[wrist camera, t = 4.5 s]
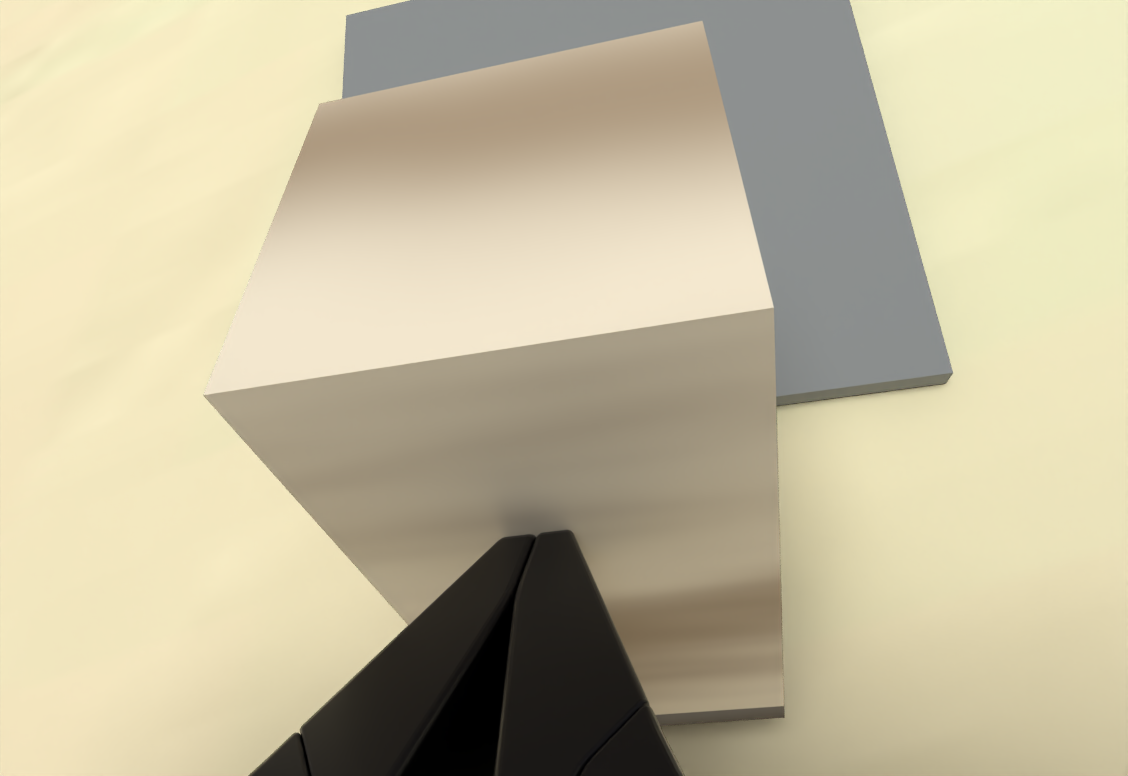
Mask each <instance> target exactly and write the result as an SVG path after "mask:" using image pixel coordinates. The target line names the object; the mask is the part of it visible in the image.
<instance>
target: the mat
mask: <svg viewBox="0 0 1128 776" xmlns="http://www.w3.org/2000/svg"><path fill="white" fill-rule="evenodd" d="M698 21H703V25H704V29H705V33H706V37H707V41H708V45H709V49H710V53H711V57H712V61H713V65H714V69H715V73H716V77H717V81H718V85H719V89H720V93H721V97H722V101H723V105H724V109H725V113H726V117H727V121H728V125H729V129H730V133H731V137H732V141H733V145H734V149H735V153H736V157H737V161H738V165H739V169H740V173H741V177H742V181H743V185H744V189H745V194H746V198H747V202H748V206H749V210H750V214H751V218H752V222H753V226H754V230H755V234H756V238H757V242H758V246H759V250H760V254H761V258H762V262H763V266H764V270H765V274H766V278H767V282H768V286H769V290H770V294H771V298H772V302H773V306H774V331H775V370H776V406H779V405H786V404H794V403H801V402H809V401H816V400H824V399H831V398H839V397H846V396H854V395H862V394H869V393H877V392H884V391H892V390H899V389H907V388H914V387H922V386H929V385H937V384H944V383H946V382H947V381H948V379H949V378H950V376H951V375H952V373H953V371H952V368H951V364H950V360H949V357H948V353H947V350H946V346H945V343H944V339H943V335H942V332H941V328H940V325H939V321H938V317H937V314H936V310H935V307H934V303H933V299H932V296H931V292H930V289H929V285H928V281H927V278H926V274H925V271H924V267H923V263H922V260H921V256H920V253H919V249H918V245H917V242H916V238H915V235H914V231H913V227H912V224H911V220H910V217H909V213H908V209H907V206H906V202H905V199H904V195H903V192H902V188H901V184H900V181H899V177H898V174H897V170H896V166H895V163H894V159H893V156H892V152H891V148H890V145H889V141H888V138H887V134H886V130H885V127H884V123H883V120H882V116H881V112H880V109H879V105H878V102H877V98H876V94H875V91H874V87H873V84H872V80H871V76H870V73H869V69H868V66H867V62H866V58H865V55H864V51H863V48H862V44H861V40H860V37H859V33H858V30H857V26H856V23H855V19H854V15H853V12H852V8H851V5H850V1H849V0H410V1H406V2H402V3H397V4H393V5H389V6H385V7H380V8H376V9H372V10H368V11H363V12H359V13H355V14H351V15H347V16H346V34H345V54H344V74H343V95H342V99H344V98H349V97H353V96H358V95H363V94H367V93H372V92H376V91H381V90H386V89H390V88H395V87H399V86H404V85H409V84H413V83H418V82H422V81H427V80H432V79H436V78H441V77H445V76H450V75H455V74H459V73H464V72H468V71H473V70H478V69H482V68H487V67H491V66H496V65H501V64H505V63H510V62H514V61H519V60H524V59H528V58H533V57H537V56H542V55H547V54H551V53H556V52H560V51H565V50H570V49H574V48H579V47H583V46H588V45H593V44H597V43H602V42H606V41H611V40H616V39H620V38H625V37H629V36H634V35H639V34H643V33H648V32H652V31H657V30H662V29H666V28H671V27H675V26H680V25H685V24H689V23H694V22H698Z"/></svg>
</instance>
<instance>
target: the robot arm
mask: <svg viewBox="0 0 1128 776" xmlns="http://www.w3.org/2000/svg"><path fill="white" fill-rule="evenodd" d="M300 733H301V735H300ZM300 733H294V734H293V735H292V736H290V737H289V738H288V739H287V740H286V741H285V742H284V743H283V744H282V745H281V746H280V747H279V748H278V749H277V750H276V751H275V752H274V753H272V754H271V755H270V756H269V757H268V758H267V759H266V760H265V761H264V762H263V763H262V764H261V765H260V766H258V767H257V768H256V769H255V770H254V771H253V772H252V773H251V774H250V775H249V776H685V775H684V774H683V772H682V770H681V768H680V766H679V764H678V762H677V760H676V758H675V756H674V754H673V752H672V750H671V748H670V746H669V744H668V742H667V740H666V738H665V736H664V734H663V732H662V729H661V727H660V725H659V723H658V720H657V718H656V716H655V713H654V711H653V709H652V708H651V707H650V704H649V701H648V699H647V697H646V694H645V692H644V690H643V688H642V685H641V683H640V681H639V679H638V676H637V674H636V672H635V670H634V667H633V665H632V663H631V661H630V658H629V656H628V654H627V652H626V649H625V647H624V645H623V643H622V641H621V638H620V636H619V634H618V632H617V629H616V627H615V625H614V623H613V620H612V618H611V616H610V614H609V611H608V609H607V607H606V605H605V602H604V600H603V598H602V596H601V593H600V591H599V589H598V587H597V584H596V582H595V580H594V578H593V576H592V573H591V571H590V569H589V567H588V564H587V562H586V560H585V558H584V555H583V553H582V551H581V549H580V546H579V544H578V542H577V540H576V537H575V535H574V533H573V532H572V531H571V530H559V531H551V532H543V533H540V534H539V535H537V537H536V536H535V535H533V534H526V535H517V536H508V537H503V538H501V539H500V540H498V541H497V542H496V543H495V544H494V545H493V546H492V547H491V548H490V549H489V550H488V551H486V552H485V553H484V554H483V555H482V556H481V557H480V558H479V559H478V560H477V561H476V562H475V563H474V564H473V565H472V566H471V567H470V568H468V569H467V570H466V571H465V572H464V573H463V574H462V575H461V576H460V577H459V578H458V579H457V580H456V581H455V582H454V583H453V584H452V585H451V586H449V587H448V588H447V589H446V590H445V591H444V592H443V593H442V594H441V595H440V596H439V597H438V598H437V599H436V600H435V601H434V602H433V603H431V604H430V605H429V606H428V607H427V608H426V609H425V610H424V611H423V612H422V613H421V614H420V615H419V616H418V617H417V618H416V619H415V620H413V621H412V622H411V623H410V624H409V625H408V626H407V627H406V628H405V629H404V630H403V631H402V632H401V633H400V634H399V635H398V636H397V637H396V638H394V639H393V640H392V641H391V642H390V643H389V644H388V645H387V646H386V647H385V648H384V649H383V650H382V651H381V652H380V653H379V654H378V655H376V656H375V657H374V658H373V659H372V660H371V661H370V662H369V663H368V664H367V665H366V666H365V667H364V668H363V669H362V670H361V671H360V672H359V673H357V674H356V675H355V676H354V677H353V678H352V679H351V680H350V681H349V682H348V683H347V684H346V685H345V686H344V687H343V688H342V689H341V690H339V691H338V692H337V693H336V694H335V695H334V696H333V697H332V698H331V699H330V700H329V701H328V702H327V703H326V704H325V705H324V706H323V707H321V708H320V709H319V710H318V711H317V712H316V713H315V714H314V715H313V716H312V717H311V718H310V719H309V720H308V721H307V722H306V723H304V724H303V725H302V726H301V728H300Z"/></svg>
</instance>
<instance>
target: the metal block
mask: <svg viewBox="0 0 1128 776" xmlns="http://www.w3.org/2000/svg"><path fill="white" fill-rule="evenodd" d="M203 396H204V397H205V398H206V399H207V400H208V401H209V402H210V403H211V405H212V406H213V407H214V408H215V409H216V410H217V411H218V412H219V414H220V415H221V416H222V417H223V418H224V419H225V420H226V421H227V423H228V424H229V425H230V426H231V427H232V428H233V429H234V430H235V432H236V433H237V434H238V435H239V436H240V437H241V438H242V439H243V440H244V442H245V443H246V444H247V445H248V446H249V447H250V448H251V449H252V451H253V452H254V453H255V454H256V455H257V456H258V457H259V458H260V460H261V461H262V462H263V463H264V464H265V465H266V466H267V467H268V468H269V470H270V471H271V472H272V473H273V474H274V475H275V476H276V477H277V479H278V480H279V481H280V482H281V483H282V484H283V485H284V486H285V488H286V489H287V490H288V491H289V492H290V493H291V494H292V495H293V497H294V498H295V499H296V500H297V501H298V502H299V503H300V504H301V505H302V507H303V508H304V509H305V510H306V511H307V512H308V513H309V514H310V516H311V517H312V518H313V519H314V520H315V521H316V522H317V523H318V525H319V526H320V527H321V528H322V529H323V530H324V531H325V532H326V533H327V535H328V536H329V537H330V538H331V539H332V540H333V541H334V542H335V544H336V545H337V546H338V547H339V548H340V549H341V550H342V551H343V553H344V554H345V555H346V556H347V557H348V558H349V559H350V560H351V562H352V563H353V564H354V565H355V566H356V567H357V568H358V569H359V570H360V572H361V573H362V574H363V575H364V576H365V577H366V578H367V579H368V581H369V582H370V583H371V584H372V585H373V586H374V587H375V588H376V590H377V591H378V592H379V593H380V594H381V595H382V596H383V597H384V598H385V600H386V601H387V602H388V603H389V604H390V605H391V606H392V607H393V609H394V610H395V611H396V612H397V613H398V614H399V615H400V616H401V618H402V619H403V620H404V621H405V622H406V623H407V624H408V625H409V624H410V623H411V622H412V621H413V620H415V619H416V618H417V617H418V616H419V615H420V614H421V613H422V612H423V611H424V610H425V609H426V608H427V607H428V606H429V605H430V604H431V603H433V602H434V601H435V600H436V599H437V598H438V597H439V596H440V595H441V594H442V593H443V592H444V591H445V590H446V589H447V588H448V587H449V586H451V585H452V584H453V583H454V582H455V581H456V580H457V579H458V578H459V577H460V576H461V575H462V574H463V573H464V572H465V571H466V570H467V569H468V568H470V567H471V566H472V565H473V564H474V563H475V562H476V561H477V560H478V559H479V558H480V557H481V556H482V555H483V554H484V553H485V552H486V551H488V550H489V549H490V548H491V547H492V546H493V545H494V544H495V543H496V542H497V541H498V540H500V539H501V538H503V537H508V536H517V535H526V534H533V535H535V536H536V537H537V535H539V534H540V533H543V532H551V531H559V530H571V531H572V532H573V533H574V535H575V537H576V540H577V542H578V544H579V546H580V549H581V551H582V553H583V555H584V558H585V560H586V562H587V564H588V567H589V569H590V571H591V573H592V576H593V578H594V580H595V582H596V584H597V587H598V589H599V591H600V593H601V596H602V598H603V600H604V602H605V605H606V607H607V609H608V611H609V614H610V616H611V618H612V620H613V623H614V625H615V627H616V629H617V632H618V634H619V636H620V638H621V641H622V643H623V645H624V647H625V649H626V652H627V654H628V656H629V658H630V661H631V663H632V665H633V667H634V670H635V672H636V674H637V676H638V679H639V681H640V683H641V685H642V688H643V690H644V692H645V694H646V697H647V699H648V701H649V704H650V707H651V708H652V709H653V711H654V713H655V716H656V718H657V720H658V723H659V725H660V726H664V725H679V724H694V723H709V722H724V721H739V720H754V719H769V718H784V683H783V644H782V605H781V565H780V526H779V487H778V448H777V409H776V370H775V331H774V306H773V302H772V298H771V294H770V290H769V286H768V282H767V278H766V274H765V270H764V266H763V262H762V258H761V254H760V250H759V246H758V242H757V238H756V234H755V230H754V226H753V222H752V218H751V214H750V210H749V206H748V202H747V198H746V194H745V189H744V185H743V181H742V177H741V173H740V169H739V165H738V161H737V157H736V153H735V149H734V145H733V141H732V137H731V133H730V129H729V125H728V121H727V117H726V113H725V109H724V105H723V101H722V97H721V93H720V89H719V85H718V81H717V77H716V73H715V69H714V65H713V61H712V57H711V53H710V49H709V45H708V41H707V37H706V33H705V29H704V25H703V21H698V22H694V23H689V24H685V25H680V26H675V27H671V28H666V29H662V30H657V31H652V32H648V33H643V34H639V35H634V36H629V37H625V38H620V39H616V40H611V41H606V42H602V43H597V44H593V45H588V46H583V47H579V48H574V49H570V50H565V51H560V52H556V53H551V54H547V55H542V56H537V57H533V58H528V59H524V60H519V61H514V62H510V63H505V64H501V65H496V66H491V67H487V68H482V69H478V70H473V71H468V72H464V73H459V74H455V75H450V76H445V77H441V78H436V79H432V80H427V81H422V82H418V83H413V84H409V85H404V86H399V87H395V88H390V89H386V90H381V91H376V92H372V93H367V94H363V95H358V96H353V97H349V98H344V99H340V100H335V101H330V102H326V103H321V104H319V106H318V109H317V111H316V114H315V116H314V119H313V121H312V124H311V126H310V129H309V131H308V134H307V136H306V139H305V141H304V144H303V146H302V149H301V151H300V154H299V156H298V159H297V161H296V164H295V166H294V169H293V171H292V174H291V176H290V179H289V181H288V184H287V186H286V189H285V191H284V194H283V196H282V199H281V201H280V204H279V206H278V209H277V211H276V214H275V216H274V219H273V221H272V224H271V226H270V229H269V231H268V234H267V236H266V239H265V241H264V244H263V246H262V249H261V251H260V254H259V256H258V259H257V261H256V264H255V266H254V269H253V271H252V274H251V276H250V279H249V281H248V284H247V286H246V289H245V291H244V294H243V296H242V299H241V301H240V304H239V306H238V309H237V311H236V314H235V316H234V319H233V321H232V324H231V326H230V329H229V331H228V334H227V336H226V339H225V341H224V344H223V346H222V349H221V351H220V354H219V356H218V359H217V361H216V364H215V366H214V369H213V371H212V374H211V376H210V379H209V381H208V384H207V386H206V389H205V392H204V394H203Z"/></svg>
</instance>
